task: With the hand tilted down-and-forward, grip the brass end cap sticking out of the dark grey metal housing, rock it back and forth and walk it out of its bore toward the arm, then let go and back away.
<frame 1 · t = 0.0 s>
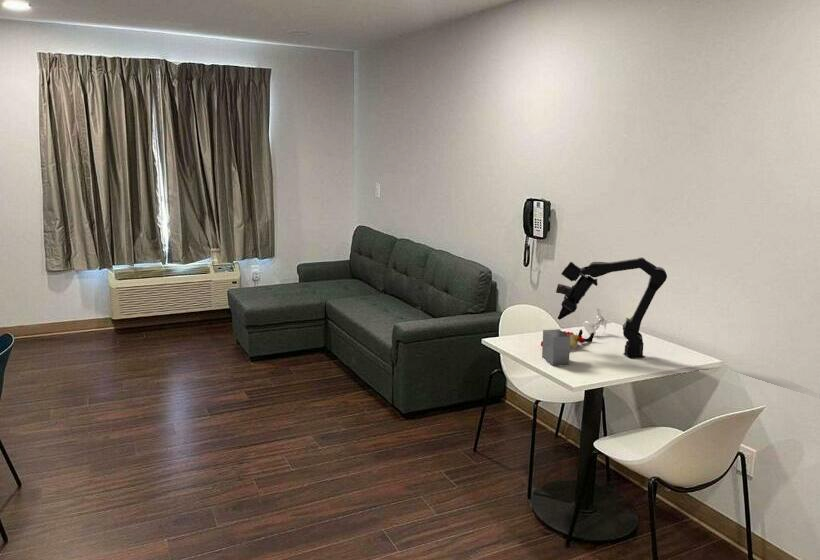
hand: (559, 316, 275), 15 cm above the table, tool tilted 35°, fingers open, 9 cm apart
figurine: (564, 346, 283), on the table
housing: (555, 361, 262), on the table
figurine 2: (594, 335, 301), on the table
gold cylindrical piece: (564, 342, 261), point 8 cm above the table, slide at 0.0 cm
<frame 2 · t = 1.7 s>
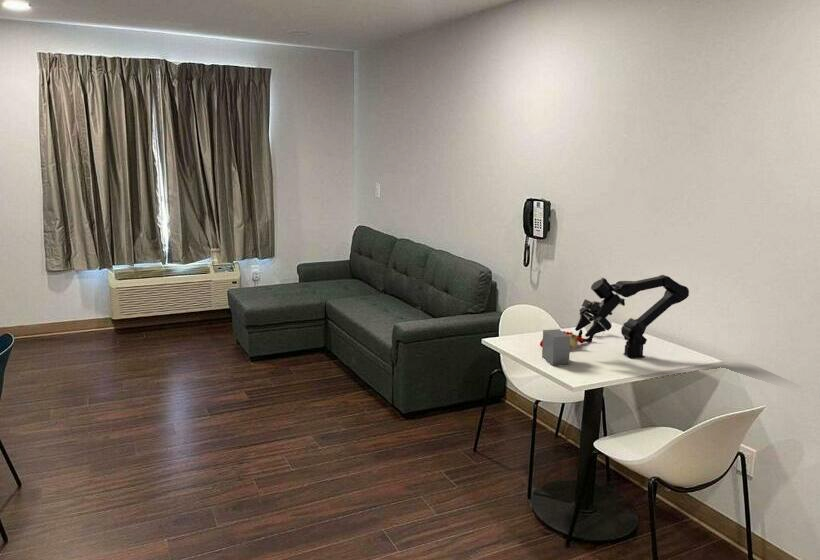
hand: (580, 333, 261), 11 cm above the table, tool tilted 45°, fingers open, 9 cm apart
nothing on the table moved.
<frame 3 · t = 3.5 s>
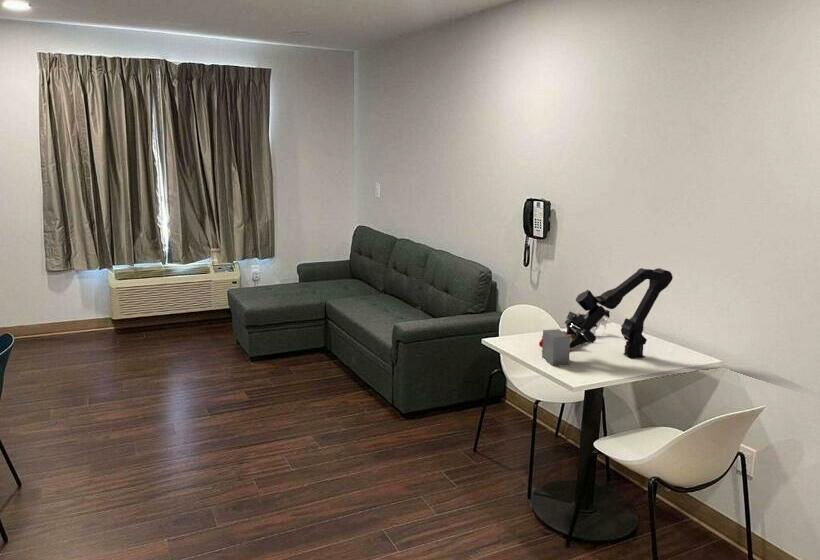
hand: (565, 345, 261), 7 cm above the table, tool tilted 45°, fingers closed on gold cylindrical piece, 6 cm apart
gold cylindrical piece: (564, 342, 261), point 8 cm above the table, slide at 0.0 cm, touching gripper
everything else where it was.
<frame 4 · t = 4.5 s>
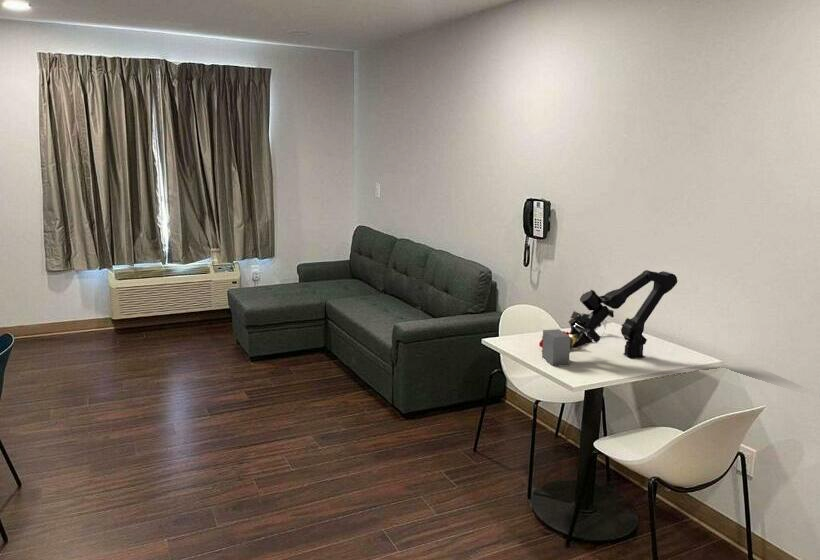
hand: (569, 345, 262), 7 cm above the table, tool tilted 45°, fingers closed on gold cylindrical piece, 6 cm apart
gold cylindrical piece: (568, 341, 261), point 8 cm above the table, slide at 1.8 cm, touching gripper
everything else where it was.
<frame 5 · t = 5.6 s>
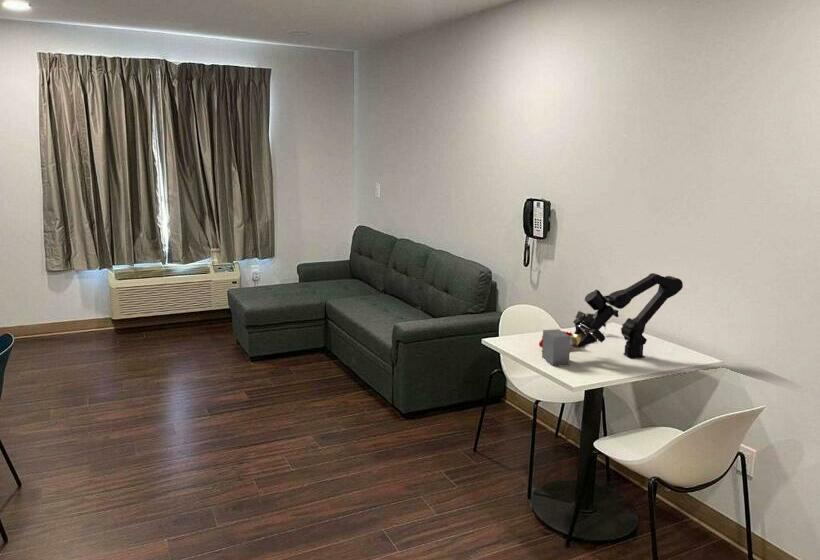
hand: (574, 344, 262), 7 cm above the table, tool tilted 45°, fingers closed on gold cylindrical piece, 6 cm apart
gold cylindrical piece: (573, 341, 262), point 8 cm above the table, slide at 3.9 cm, touching gripper
everything else where it was.
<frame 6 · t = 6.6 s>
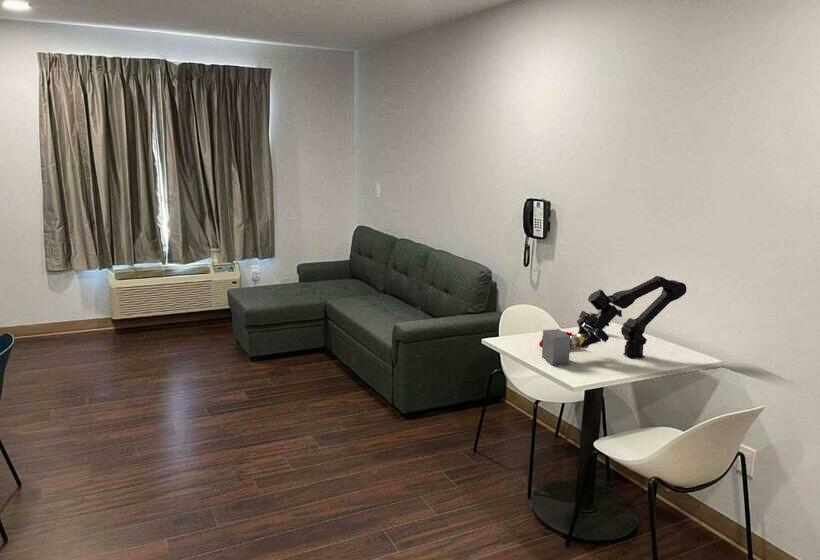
hand: (578, 344, 262), 7 cm above the table, tool tilted 45°, fingers closed on gold cylindrical piece, 6 cm apart
gold cylindrical piece: (576, 341, 262), point 8 cm above the table, slide at 5.4 cm, touching gripper
everything else where it was.
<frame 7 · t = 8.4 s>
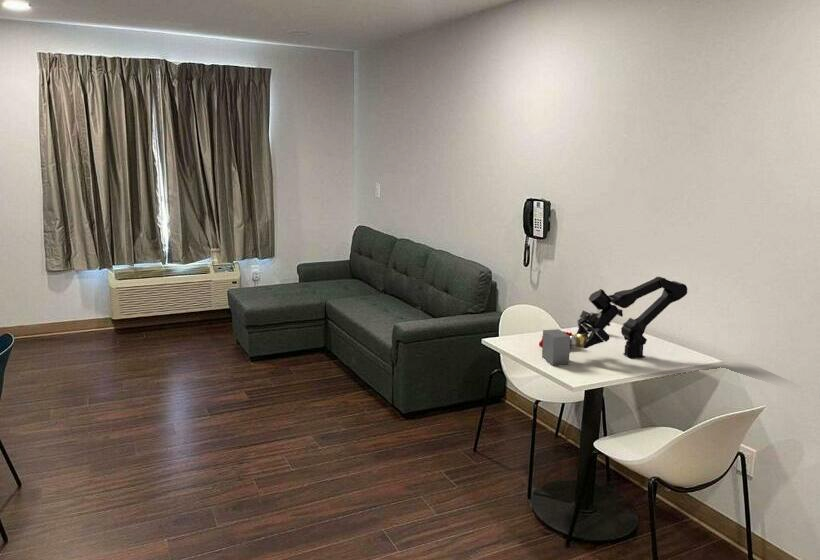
hand: (578, 344, 262), 7 cm above the table, tool tilted 45°, fingers open, 9 cm apart
gold cylindrical piece: (577, 341, 262), point 8 cm above the table, slide at 5.5 cm
everything else where it was.
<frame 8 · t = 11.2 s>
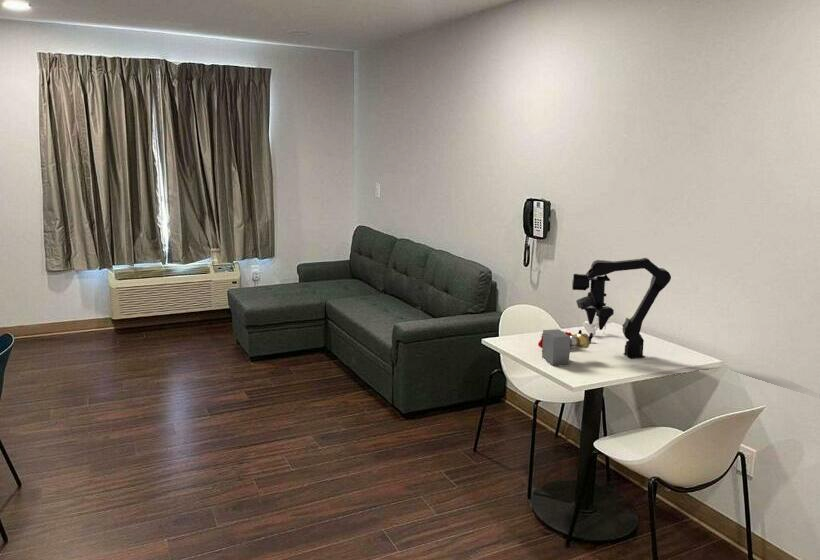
hand: (595, 326, 269), 12 cm above the table, tool pointing down, fingers open, 9 cm apart
nothing on the table moved.
at the end: gold cylindrical piece slide at 5.5 cm; the gripper is holding nothing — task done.
